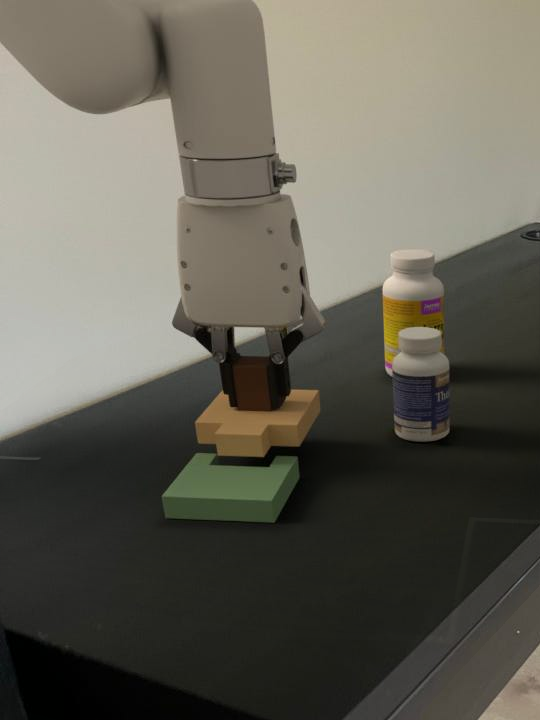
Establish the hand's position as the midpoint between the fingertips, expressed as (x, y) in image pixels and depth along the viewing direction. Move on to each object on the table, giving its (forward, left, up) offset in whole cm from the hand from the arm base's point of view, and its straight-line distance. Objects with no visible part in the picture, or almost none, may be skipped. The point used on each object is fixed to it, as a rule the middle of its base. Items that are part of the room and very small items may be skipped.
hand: (258, 401), depth 88 cm
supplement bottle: (+11, +25, -5) cm, 27 cm away
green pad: (0, -9, -5) cm, 11 cm away
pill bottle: (+14, +7, -5) cm, 16 cm away
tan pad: (0, -1, -2) cm, 3 cm away
